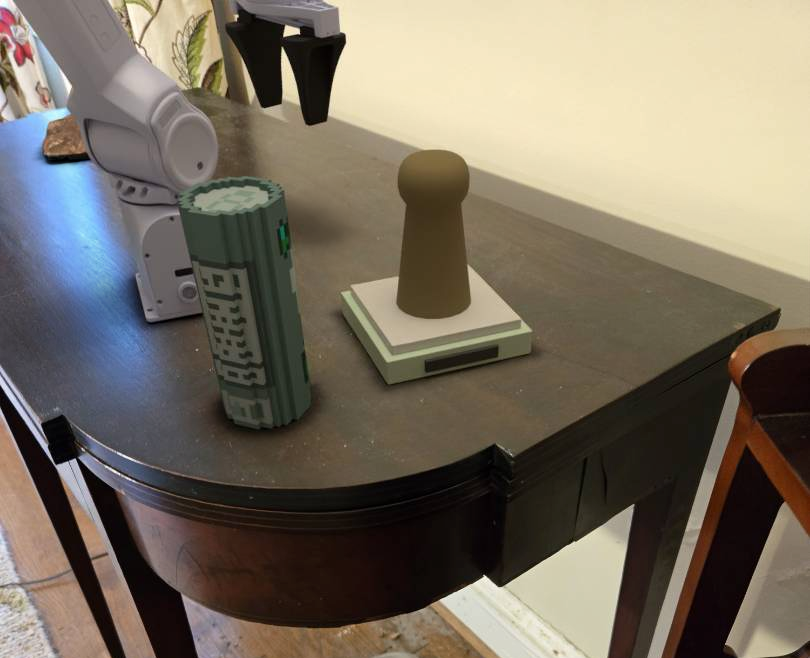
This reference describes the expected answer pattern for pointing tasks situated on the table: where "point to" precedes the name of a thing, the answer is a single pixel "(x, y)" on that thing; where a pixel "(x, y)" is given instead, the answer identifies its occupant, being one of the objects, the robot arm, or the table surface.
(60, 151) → the brown stone slab
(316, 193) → the table surface
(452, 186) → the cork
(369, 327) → the scale
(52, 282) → the table surface
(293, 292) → the can
